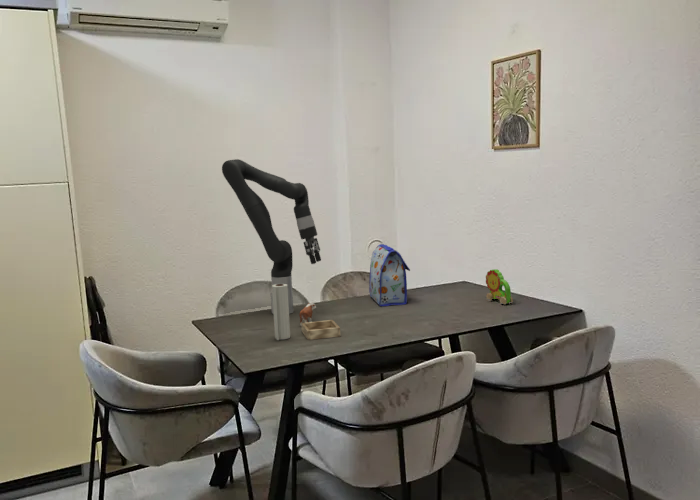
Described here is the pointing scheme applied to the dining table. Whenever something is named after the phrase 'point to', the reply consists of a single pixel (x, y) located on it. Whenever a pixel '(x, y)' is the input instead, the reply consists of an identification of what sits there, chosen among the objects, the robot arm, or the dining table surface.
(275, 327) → the paper towel roll
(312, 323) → the wooden tray
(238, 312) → the dining table surface
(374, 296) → the lunch bag
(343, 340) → the dining table surface
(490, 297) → the toy lion
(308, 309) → the bull figurine
